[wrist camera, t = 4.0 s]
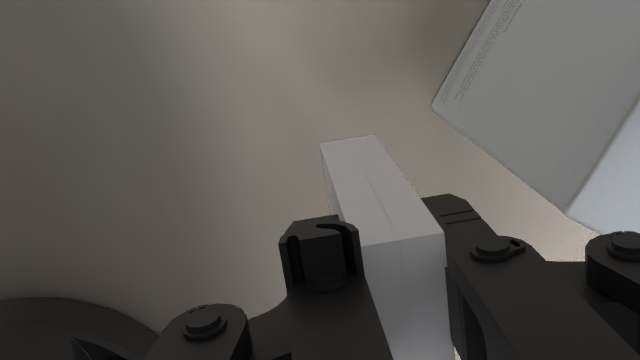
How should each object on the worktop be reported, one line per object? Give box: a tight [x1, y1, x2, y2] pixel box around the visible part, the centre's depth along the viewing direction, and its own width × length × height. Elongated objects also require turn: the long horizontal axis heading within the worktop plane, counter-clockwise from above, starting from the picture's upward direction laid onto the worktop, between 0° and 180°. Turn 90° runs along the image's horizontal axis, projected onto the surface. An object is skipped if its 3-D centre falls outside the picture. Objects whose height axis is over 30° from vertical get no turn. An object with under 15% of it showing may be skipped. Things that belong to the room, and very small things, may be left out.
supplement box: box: [431, 0, 640, 235], centre depth 21 cm, size 7×7×13 cm
